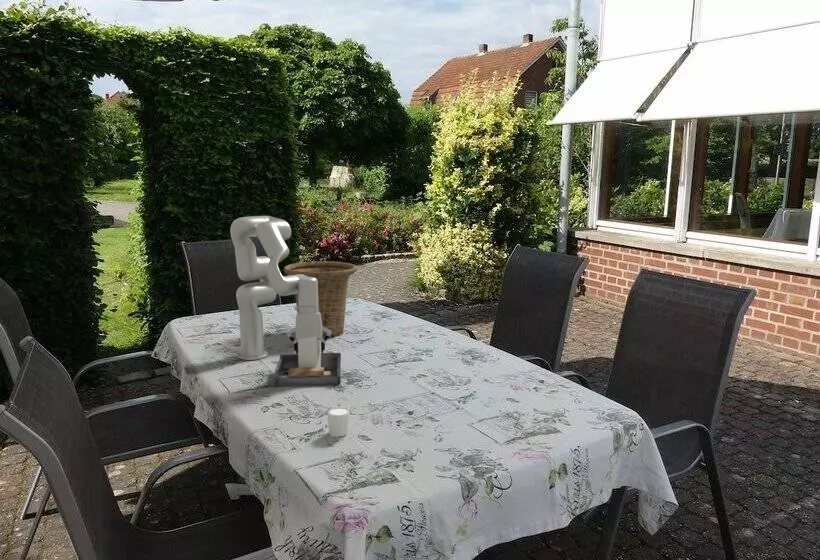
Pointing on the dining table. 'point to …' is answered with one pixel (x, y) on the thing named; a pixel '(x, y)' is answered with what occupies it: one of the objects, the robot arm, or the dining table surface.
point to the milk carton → (309, 352)
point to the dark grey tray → (291, 361)
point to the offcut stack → (308, 372)
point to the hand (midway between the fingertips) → (309, 352)
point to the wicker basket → (327, 290)
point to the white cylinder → (338, 421)
